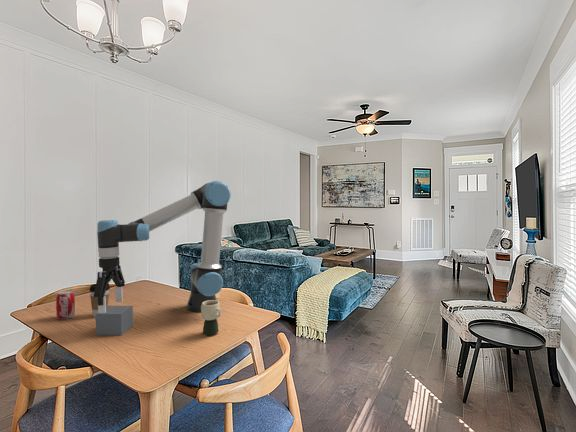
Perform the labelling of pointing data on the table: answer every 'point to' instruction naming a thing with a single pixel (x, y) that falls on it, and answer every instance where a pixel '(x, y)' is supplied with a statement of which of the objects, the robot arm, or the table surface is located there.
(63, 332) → the table surface
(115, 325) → the grey cubic block
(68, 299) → the soda can
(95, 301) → the coffee cup
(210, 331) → the character mug
